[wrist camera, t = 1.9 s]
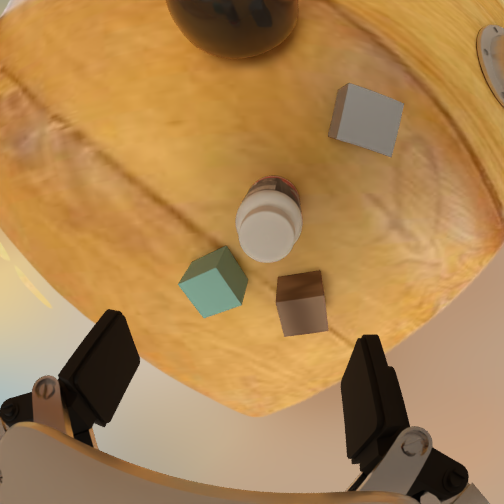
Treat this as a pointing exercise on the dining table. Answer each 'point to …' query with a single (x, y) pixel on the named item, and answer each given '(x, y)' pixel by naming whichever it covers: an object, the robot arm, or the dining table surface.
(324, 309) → the walnut block
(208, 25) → the pump dispenser
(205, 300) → the teal block
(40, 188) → the dining table surface
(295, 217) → the pill bottle
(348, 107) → the slate-grey block
